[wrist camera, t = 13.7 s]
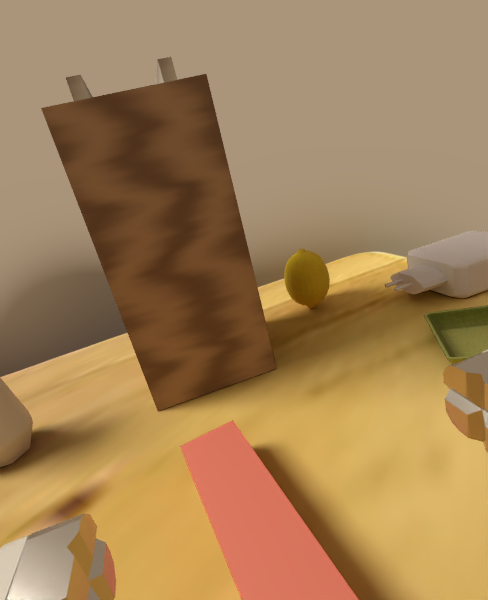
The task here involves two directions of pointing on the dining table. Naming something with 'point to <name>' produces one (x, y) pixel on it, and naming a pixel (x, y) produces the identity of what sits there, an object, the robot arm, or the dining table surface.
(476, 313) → the green square tray
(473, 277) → the charger
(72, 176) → the wooden knife block
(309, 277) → the lemon
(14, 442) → the salt shaker
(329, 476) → the dining table surface
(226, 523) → the salmon red bar
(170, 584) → the dining table surface
